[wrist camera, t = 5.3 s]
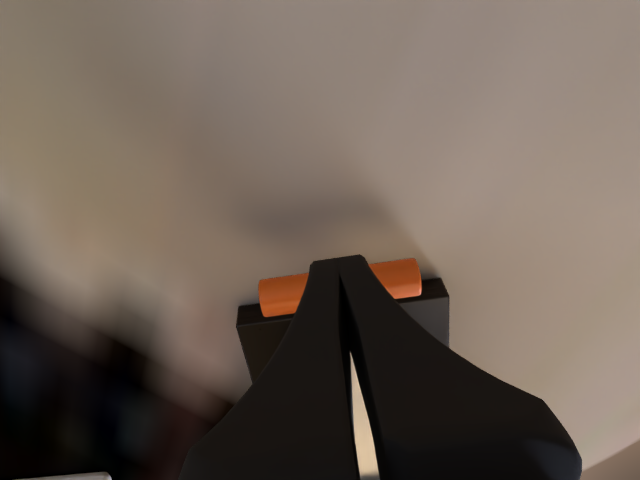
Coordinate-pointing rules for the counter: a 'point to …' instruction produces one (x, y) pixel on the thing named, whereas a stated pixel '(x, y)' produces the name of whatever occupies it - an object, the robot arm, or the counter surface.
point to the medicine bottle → (75, 477)
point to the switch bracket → (268, 332)
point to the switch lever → (285, 299)
